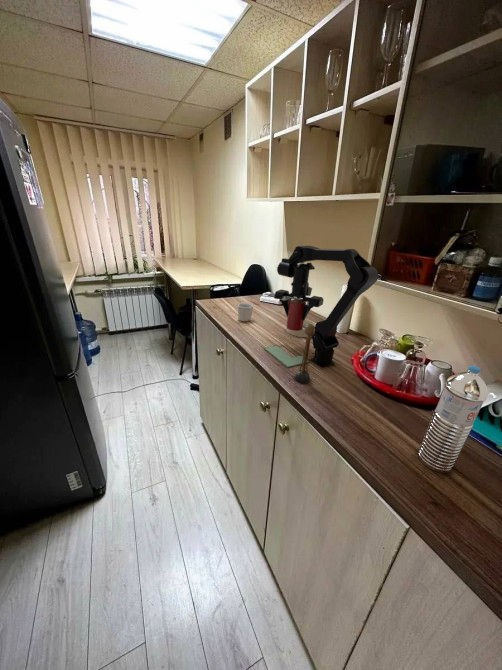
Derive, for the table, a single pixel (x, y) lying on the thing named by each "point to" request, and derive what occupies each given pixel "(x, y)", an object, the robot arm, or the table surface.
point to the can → (295, 315)
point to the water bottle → (452, 420)
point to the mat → (285, 356)
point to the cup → (245, 311)
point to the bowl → (301, 332)
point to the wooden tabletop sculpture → (303, 374)
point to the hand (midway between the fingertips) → (295, 318)
